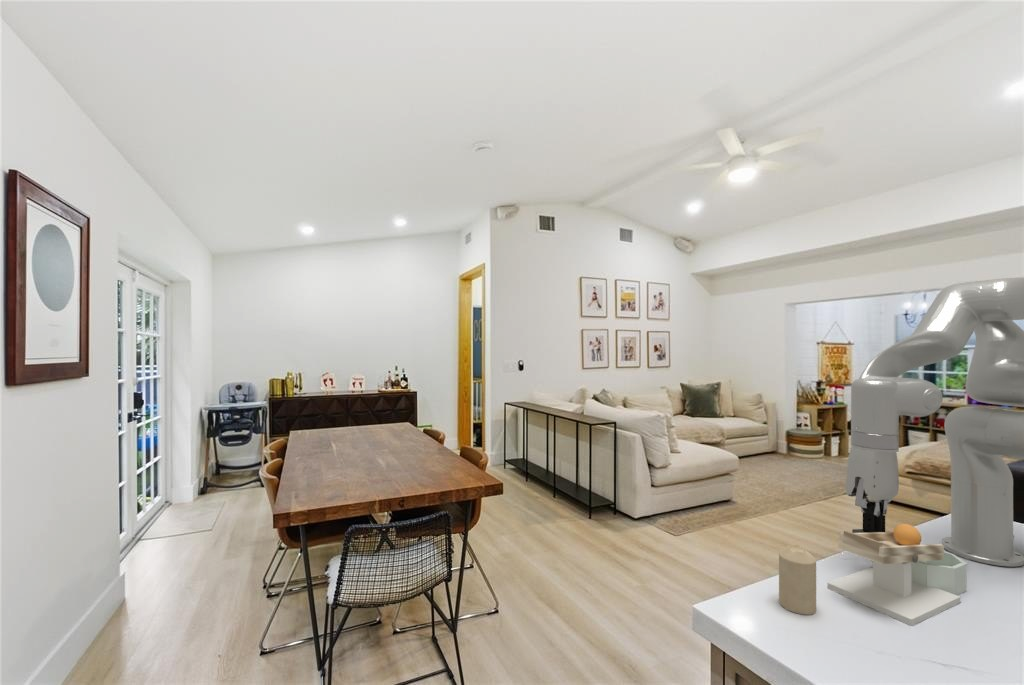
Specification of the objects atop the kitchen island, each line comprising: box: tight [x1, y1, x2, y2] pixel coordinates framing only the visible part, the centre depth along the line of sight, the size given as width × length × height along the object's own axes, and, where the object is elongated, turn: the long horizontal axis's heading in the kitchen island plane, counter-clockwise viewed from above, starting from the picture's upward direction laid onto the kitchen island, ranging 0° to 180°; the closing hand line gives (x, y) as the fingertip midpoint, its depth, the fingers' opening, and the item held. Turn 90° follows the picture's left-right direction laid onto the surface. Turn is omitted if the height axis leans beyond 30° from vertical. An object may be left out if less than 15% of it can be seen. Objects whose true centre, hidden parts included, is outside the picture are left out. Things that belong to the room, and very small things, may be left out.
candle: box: [778, 544, 817, 616], centre depth 81 cm, size 6×6×10 cm
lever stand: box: [826, 561, 961, 626], centre depth 84 cm, size 16×13×7 cm
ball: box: [892, 523, 922, 546], centre depth 87 cm, size 4×4×4 cm
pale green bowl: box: [911, 550, 968, 596], centre depth 90 cm, size 10×10×5 cm
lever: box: [838, 528, 945, 564], centre depth 87 cm, size 20×13×3 cm, turn 115°
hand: (873, 533), depth 93 cm, fingers closed
